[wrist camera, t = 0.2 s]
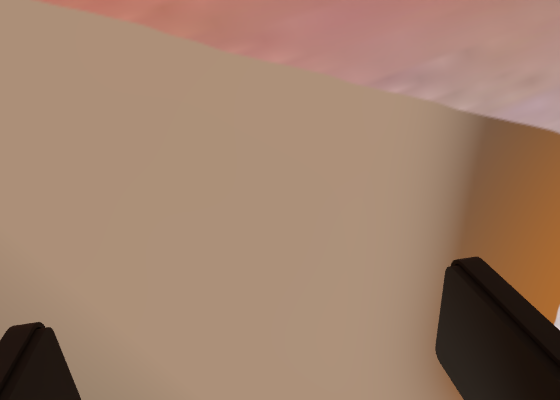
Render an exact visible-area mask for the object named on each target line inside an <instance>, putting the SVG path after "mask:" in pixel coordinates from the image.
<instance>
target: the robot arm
mask: <svg viewBox="0 0 560 400" xmlns="http://www.w3.org/2000/svg"><path fill="white" fill-rule="evenodd" d="M436 354H437V358H438V360H439V362H440V364H441V365H442V367H443V368H444V370H445V371H446V373H447V374H448V376H449V377H450V379H451V381H452V382H453V384H454V385H455V386H456V388H457V390H458V391H459V393H460V394H461V396H462V397H463V399H464V400H560V330H559V329H558V328H556V327H555V326H554V325H553V324H552V323H551V322H550V321H549V320H548V319H547V318H545V317H544V316H543V315H542V314H541V313H540V312H539V311H538V310H537V309H536V308H535V307H534V306H532V305H531V304H530V303H529V302H528V301H527V300H526V299H525V298H524V297H523V296H521V295H520V294H519V293H518V292H517V291H516V290H515V289H514V288H513V287H512V286H511V285H509V284H508V283H507V282H506V281H505V280H504V279H503V278H502V277H501V276H500V275H499V274H498V273H496V272H495V271H494V270H493V269H492V268H491V267H490V266H489V265H488V264H487V263H486V262H484V261H483V260H482V259H481V258H479V257H471V258H464V259H457V260H454V261H453V262H452V264H451V266H450V267H447V269H446V271H445V278H444V285H443V293H442V301H441V308H440V316H439V323H438V331H437V339H436ZM0 400H81V398H80V395H79V393H78V390H77V388H76V385H75V383H74V380H73V378H72V376H71V373H70V370H69V368H68V366H67V363H66V361H65V358H64V356H63V353H62V351H61V348H60V346H59V343H58V341H57V339H56V336H55V333H54V331H53V330H52V328H50V327H47V328H45V326H44V324H42V323H41V322H36V323H29V324H23V325H16V326H12V327H10V328H9V329H8V330H7V331H6V333H5V334H4V336H3V337H2V339H1V340H0Z"/></svg>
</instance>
